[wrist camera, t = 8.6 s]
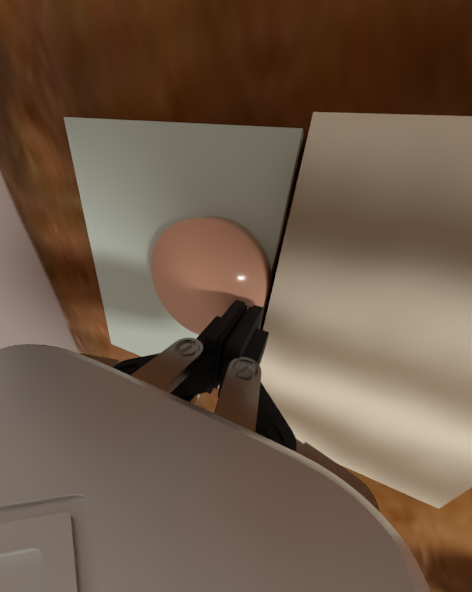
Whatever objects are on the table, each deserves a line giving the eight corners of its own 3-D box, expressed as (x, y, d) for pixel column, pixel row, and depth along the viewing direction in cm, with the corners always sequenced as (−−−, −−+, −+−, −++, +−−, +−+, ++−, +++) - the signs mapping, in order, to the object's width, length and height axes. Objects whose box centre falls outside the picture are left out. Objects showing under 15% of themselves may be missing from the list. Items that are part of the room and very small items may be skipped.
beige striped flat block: (313, 135, 10) (313, 111, 8) (742, 159, 7) (1009, 130, 4) (251, 392, 19) (241, 420, 17) (418, 459, 16) (438, 508, 13)
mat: (78, 122, 14) (63, 116, 13) (303, 134, 10) (302, 128, 9) (118, 338, 23) (111, 343, 23) (246, 390, 19) (243, 398, 19)
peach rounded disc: (169, 205, 13) (147, 206, 12) (286, 231, 11) (281, 237, 10) (169, 305, 17) (153, 317, 15) (257, 337, 15) (250, 354, 14)
